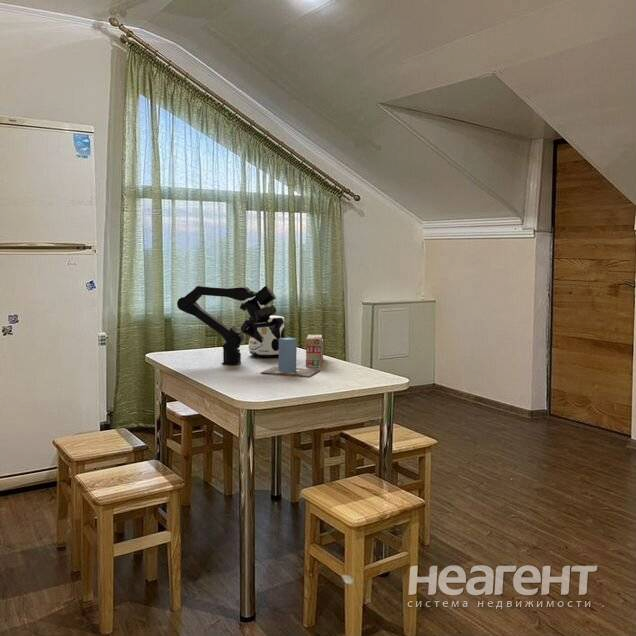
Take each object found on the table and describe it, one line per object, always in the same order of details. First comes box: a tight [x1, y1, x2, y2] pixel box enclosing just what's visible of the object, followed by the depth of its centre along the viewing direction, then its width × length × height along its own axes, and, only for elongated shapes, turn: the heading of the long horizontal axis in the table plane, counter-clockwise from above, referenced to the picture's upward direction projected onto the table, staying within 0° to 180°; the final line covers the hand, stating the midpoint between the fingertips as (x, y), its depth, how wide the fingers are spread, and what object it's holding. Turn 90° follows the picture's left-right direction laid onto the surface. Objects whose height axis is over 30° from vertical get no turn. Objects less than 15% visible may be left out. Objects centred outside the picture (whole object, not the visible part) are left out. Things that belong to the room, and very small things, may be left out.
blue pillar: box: [278, 337, 298, 373], centre depth 257 cm, size 5×5×13 cm
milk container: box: [248, 315, 286, 358], centre depth 298 cm, size 17×17×18 cm
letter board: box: [260, 366, 321, 378], centre depth 258 cm, size 20×14×1 cm
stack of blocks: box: [305, 334, 324, 367], centre depth 282 cm, size 21×6×12 cm, turn 177°
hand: (271, 341), depth 264 cm, fingers open, 9 cm apart
